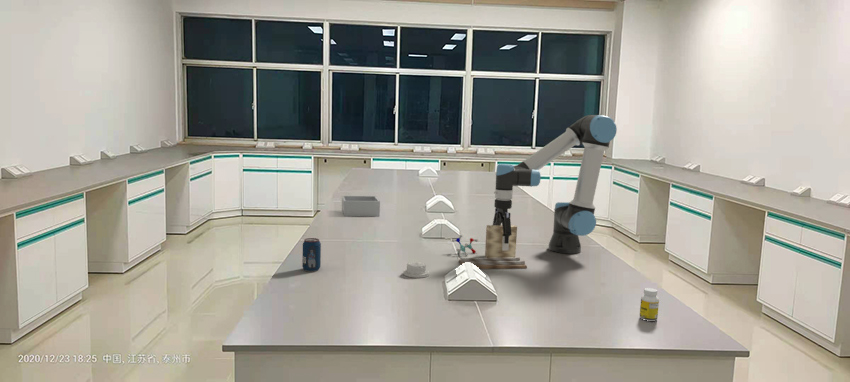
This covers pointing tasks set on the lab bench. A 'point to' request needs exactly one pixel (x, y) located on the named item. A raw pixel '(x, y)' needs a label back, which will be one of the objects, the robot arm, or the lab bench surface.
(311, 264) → the soda can
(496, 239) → the door panel
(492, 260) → the track board
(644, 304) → the supplement bottle
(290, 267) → the lab bench surface
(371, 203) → the storage crate
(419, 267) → the mechanical component
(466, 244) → the molecular model
